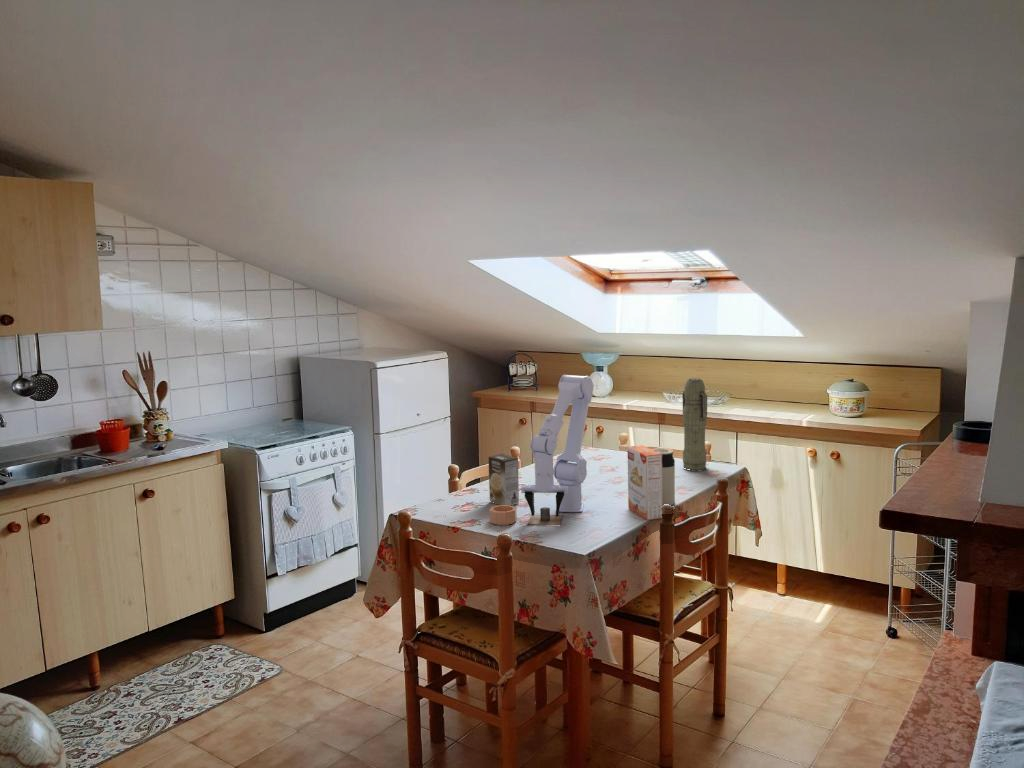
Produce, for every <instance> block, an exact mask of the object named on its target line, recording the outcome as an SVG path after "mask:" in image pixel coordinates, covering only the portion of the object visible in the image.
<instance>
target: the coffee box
mask: <svg viewBox="0 0 1024 768" xmlns="http://www.w3.org/2000/svg"><path fill="white" fill-rule="evenodd" d="M488 483H489V484H488V485H489V486H488V487H489V489H488V490H489V492H488V493H489V502H490V501H491V502H490V503H492V502H494V503H496V505H497V504H499V505H512V506H515V505H514V504H516V505H519V504H520V494H519V493H520V491H519V490H520V488H519V486H520V485H519V458H518V457H514V456H511V455H508V454H505V453H500V454H495V455H491V456H488ZM494 503H493V504H494ZM518 503H519V504H518Z"/></svg>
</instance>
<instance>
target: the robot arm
mask: <svg viewBox="0 0 1024 768" xmlns="http://www.w3.org/2000/svg"><path fill="white" fill-rule="evenodd" d="M558 381H559V382H558V385H557V386H558V387H557V388H558V395H557V399H556V401H555V404H554V407H553V409H552V411H551V413H550V414H548V415H547V414H546V417H545V418H544V421H543V423H542V426H541V428H540V430H539V432H538V434H536V435H534V436H533V437H532V438H531V442H530V445H529V446H530V451H531V452H532V457H533V458H534V479H535V480H534V483H535V484H529V485H527V484H526V485H521V487H520V489H521V490H520V491H521V494H524V498H525V500H526V502H527V504H528V506H529V510H530V513H531V515H532V516H534V515H536V513H535V493H537V494H538V493H539V494H555V515H556V516H559V515H560V514H559V513H563V512H564V513H582V512H583V509H584V505H585V503H584V502H582V483H584V482H585V480H586V478H587V474H588V473H587V472H588V471H587V470H588V469H587V460H586V459H585V458H584V457H583V455H582V454H581V453H582V447H583V446H582V445H583V440H584V439H583V438H584V434H585V429H586V428H585V427H586V421H587V417H588V410H589V404H590V403H592V398H593V391H594V385H595V384H594V383H593V380H592V378H591V376H589V375H585V376H584V375H572V374H570V375H569V374H563V375H562V376H561V377H560V379H559V380H558ZM570 404H571V405H572V406H571V412H570V418H569V423H568V424H569V425H568V430H567V435H566V442H565V448H564V452H562V453H560V455H558V456H556V457H557V458H556V462H555V464H554V454H555V452H556V450H557V446H558V445H557V444H558V435H559V434H560V431H561V430H562V427H563V425H564V420H563V417H564V415H565V413H566V411H567V410H568V408H569V407H570ZM554 480H556V481H557V483H558V484H559V485H558V484H554V482H555V481H554ZM531 515H530V516H531Z"/></svg>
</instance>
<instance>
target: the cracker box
mask: <svg viewBox="0 0 1024 768" xmlns="http://www.w3.org/2000/svg"><path fill="white" fill-rule="evenodd" d="M627 489H628V490H627V491H628V492H627V495H628V496H627V497H628V500H627V502H628V503H627V505H628V506H627V507H628V509H629V510H630V511H632V512H633V513H635V514H637V516H640V517H641V518H642V519H644V520H646V521H652V520H659V519H660V520H661V519H662V518H661V506H663V501H662V454H660V453H658V452H655V451H653V450H652V449H651V448H649V447H647V446H646V445H634V446H631V445H630V446H627ZM663 507H664V506H663Z"/></svg>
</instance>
